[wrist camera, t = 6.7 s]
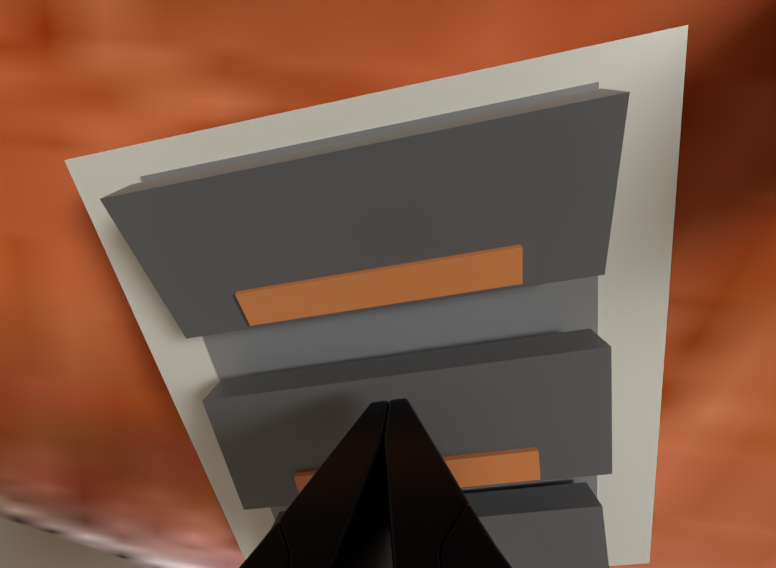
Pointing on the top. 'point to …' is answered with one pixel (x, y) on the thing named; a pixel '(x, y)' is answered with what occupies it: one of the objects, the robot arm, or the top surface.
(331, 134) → the light switch panel
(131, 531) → the top surface
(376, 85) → the top surface
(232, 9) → the top surface
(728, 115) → the top surface
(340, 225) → the rocker
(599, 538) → the rocker
